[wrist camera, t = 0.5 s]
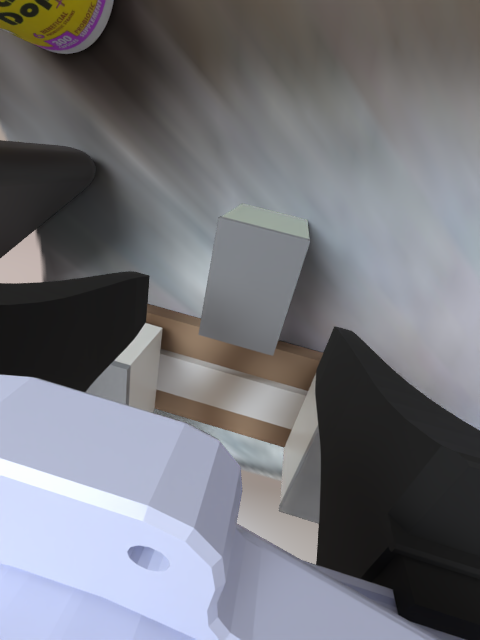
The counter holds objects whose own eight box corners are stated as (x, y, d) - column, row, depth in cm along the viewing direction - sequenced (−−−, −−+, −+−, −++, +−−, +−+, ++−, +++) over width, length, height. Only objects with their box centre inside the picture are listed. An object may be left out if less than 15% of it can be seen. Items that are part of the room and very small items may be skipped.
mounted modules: (375, 387, 20) (396, 449, 16) (333, 464, 24) (340, 530, 20) (108, 311, 21) (58, 349, 17) (108, 396, 25) (67, 444, 21)
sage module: (307, 219, 18) (310, 241, 13) (280, 307, 21) (273, 355, 16) (242, 202, 18) (218, 217, 13) (224, 292, 21) (198, 334, 16)
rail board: (393, 372, 21) (400, 388, 20) (346, 454, 26) (348, 473, 24) (103, 291, 23) (89, 300, 21) (104, 382, 27) (92, 395, 25)
